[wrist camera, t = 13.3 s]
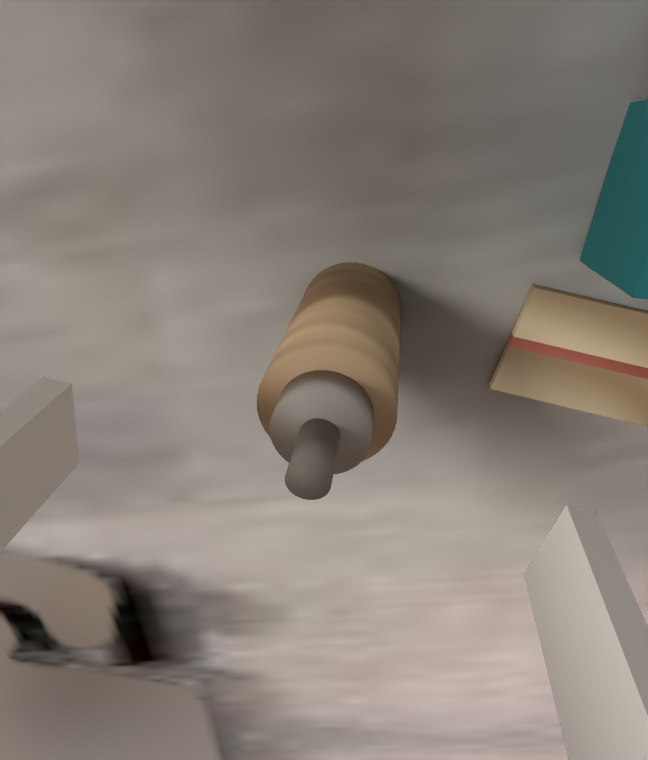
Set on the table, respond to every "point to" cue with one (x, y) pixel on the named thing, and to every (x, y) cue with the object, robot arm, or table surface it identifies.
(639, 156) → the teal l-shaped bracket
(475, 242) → the table surface
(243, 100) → the table surface
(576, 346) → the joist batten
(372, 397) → the awl
